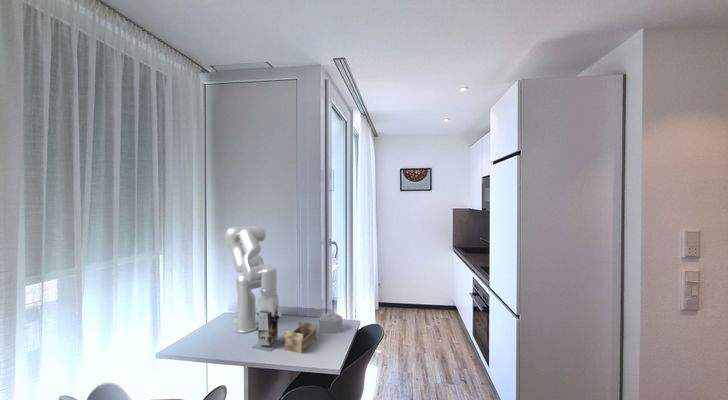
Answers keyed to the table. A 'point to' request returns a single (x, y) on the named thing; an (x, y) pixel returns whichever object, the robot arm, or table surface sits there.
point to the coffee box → (266, 329)
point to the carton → (301, 337)
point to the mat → (271, 346)
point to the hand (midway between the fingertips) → (268, 326)
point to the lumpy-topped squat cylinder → (330, 323)
